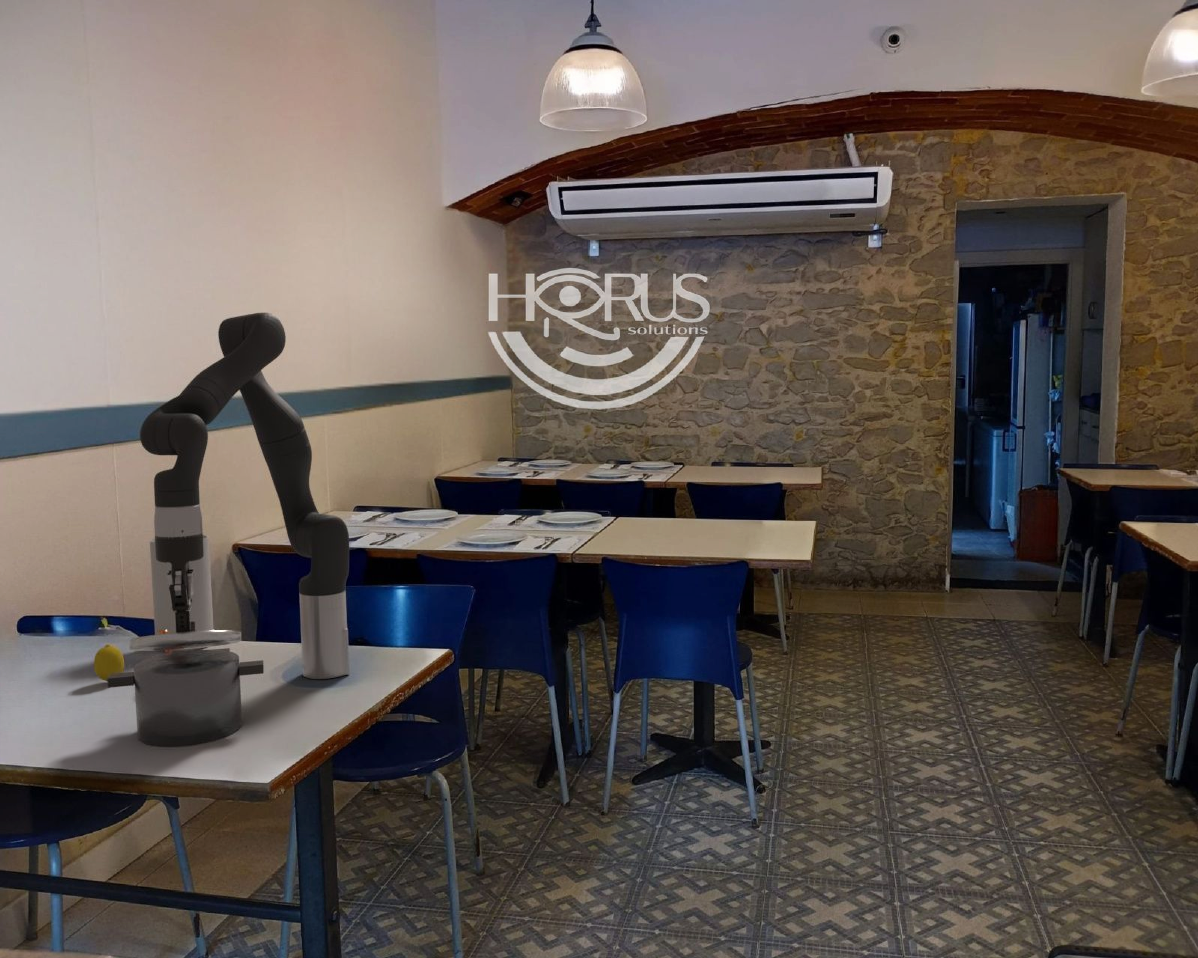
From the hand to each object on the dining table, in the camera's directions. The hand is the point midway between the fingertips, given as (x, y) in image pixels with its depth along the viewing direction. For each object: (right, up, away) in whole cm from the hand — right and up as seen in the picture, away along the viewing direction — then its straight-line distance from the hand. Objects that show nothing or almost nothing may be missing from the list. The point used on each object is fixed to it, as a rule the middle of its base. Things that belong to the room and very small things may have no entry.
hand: (183, 632), depth 176 cm
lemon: (-28, -15, +34) cm, 47 cm away
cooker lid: (-1, -3, +4) cm, 5 cm away
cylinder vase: (-25, -13, +63) cm, 69 cm away
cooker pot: (-1, -18, +5) cm, 18 cm away
